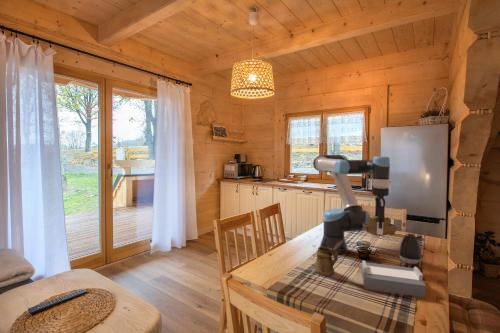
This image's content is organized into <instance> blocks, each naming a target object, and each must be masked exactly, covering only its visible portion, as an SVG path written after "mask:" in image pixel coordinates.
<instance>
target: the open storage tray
mask: <svg viewBox="0 0 500 333" xmlns="http://www.w3.org/2000/svg"><path fill="white" fill-rule="evenodd" d="M360 269H361V271H360V273H361V278H362V282H363V287H364V290H368V291H369V290H370V291H377V292H382V291H383V293H389V292H390V294H395V293H399V294H398V295H402V294H405V295H404V296H408V295H412V296H411V297H415V296H417V297H416V298H421V299H422V298H424V299H426V292H427V291H426V288H427V286H426V284H425V282H424V280H423V277H424V275H423V273H422V272H421V270H420V269H419V268H418V266H414V267H406V266H399V265H398V266H396V265H390V264H389V265H388V264H383V263H382V264H381V263H374V262H373V263H371V262H366V260H362V261H361V268H360Z"/></svg>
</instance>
